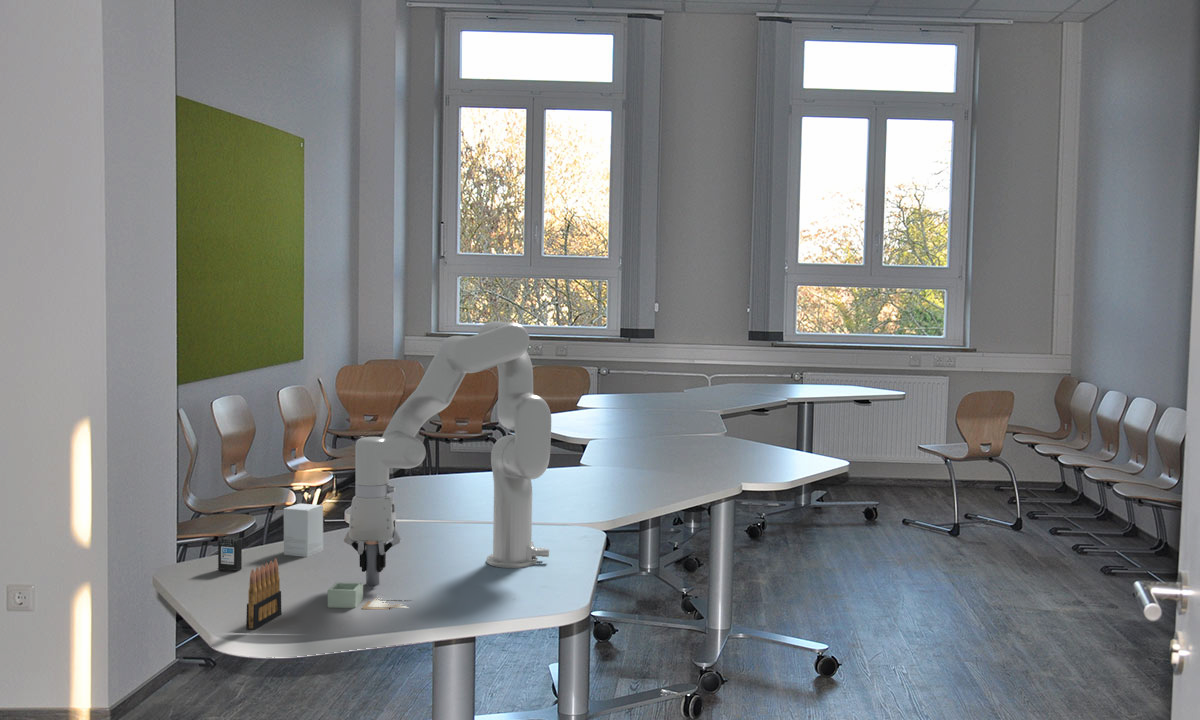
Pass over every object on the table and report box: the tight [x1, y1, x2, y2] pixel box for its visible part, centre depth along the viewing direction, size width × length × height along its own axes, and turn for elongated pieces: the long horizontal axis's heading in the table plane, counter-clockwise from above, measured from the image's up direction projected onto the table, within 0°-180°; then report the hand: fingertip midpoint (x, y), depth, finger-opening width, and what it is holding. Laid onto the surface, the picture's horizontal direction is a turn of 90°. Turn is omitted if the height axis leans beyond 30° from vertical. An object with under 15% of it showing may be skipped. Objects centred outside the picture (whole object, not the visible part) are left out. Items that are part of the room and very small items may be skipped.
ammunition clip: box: [245, 558, 282, 631], centre depth 208 cm, size 11×2×12 cm, turn 168°
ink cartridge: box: [217, 536, 243, 573], centre depth 247 cm, size 5×2×8 cm, turn 80°
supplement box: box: [283, 503, 324, 558], centre depth 263 cm, size 7×7×13 cm
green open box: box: [327, 581, 364, 609], centre depth 221 cm, size 6×6×4 cm
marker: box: [365, 541, 380, 587], centre depth 235 cm, size 3×3×12 cm
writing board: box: [361, 598, 413, 610], centre depth 222 cm, size 15×12×1 cm
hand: (372, 569), depth 235 cm, fingers closed on marker, 3 cm apart
